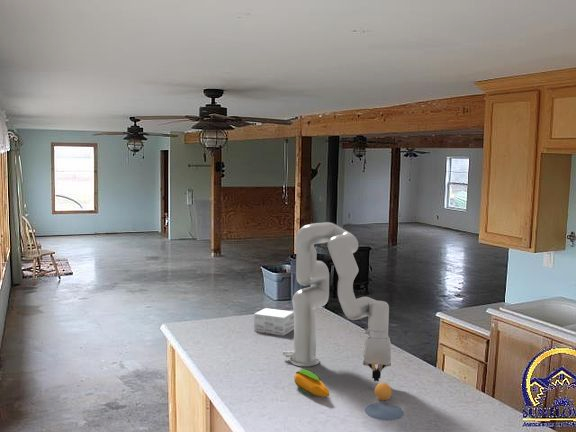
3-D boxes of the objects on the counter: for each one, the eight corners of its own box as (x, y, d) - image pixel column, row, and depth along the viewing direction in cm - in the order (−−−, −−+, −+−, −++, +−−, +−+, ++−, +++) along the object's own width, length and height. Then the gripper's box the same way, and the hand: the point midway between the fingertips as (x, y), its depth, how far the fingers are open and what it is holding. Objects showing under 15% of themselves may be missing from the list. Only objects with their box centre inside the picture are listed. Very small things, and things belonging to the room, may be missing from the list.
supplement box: (294, 329, 280) (295, 311, 279) (284, 336, 268) (284, 317, 267) (265, 324, 287) (265, 307, 286) (253, 331, 275) (253, 313, 274)
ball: (376, 396, 192) (374, 380, 196) (374, 402, 197) (373, 386, 200) (393, 396, 192) (391, 380, 195) (391, 402, 196) (389, 386, 200)
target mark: (366, 419, 181) (366, 418, 181) (363, 402, 193) (363, 401, 193) (406, 420, 180) (406, 420, 180) (400, 403, 193) (400, 403, 193)
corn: (305, 362, 210) (337, 380, 193) (306, 381, 211) (338, 400, 194) (289, 367, 206) (320, 385, 189) (290, 386, 207) (321, 406, 190)
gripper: (359, 335, 205) (357, 383, 207) (399, 337, 205) (397, 384, 206) (357, 329, 213) (356, 375, 215) (396, 331, 212) (394, 377, 214)
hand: (376, 379), depth 210 cm, fingers closed
